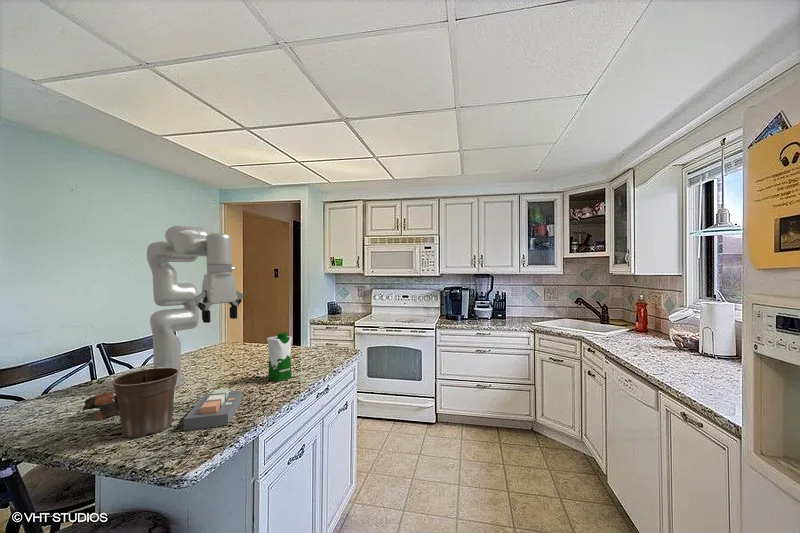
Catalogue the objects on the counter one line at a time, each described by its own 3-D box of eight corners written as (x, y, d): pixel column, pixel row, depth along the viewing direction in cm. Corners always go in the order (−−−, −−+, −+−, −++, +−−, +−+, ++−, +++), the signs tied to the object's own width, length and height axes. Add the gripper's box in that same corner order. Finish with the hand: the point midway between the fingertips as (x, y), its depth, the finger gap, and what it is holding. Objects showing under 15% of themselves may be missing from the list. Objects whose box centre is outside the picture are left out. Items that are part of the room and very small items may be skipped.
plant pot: (159, 440, 95) (158, 382, 95) (97, 444, 93) (96, 385, 94) (190, 415, 111) (189, 366, 111) (137, 418, 110) (136, 368, 110)
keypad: (205, 404, 121) (205, 393, 121) (242, 400, 124) (242, 390, 124) (183, 430, 100) (183, 418, 100) (228, 425, 103) (227, 413, 103)
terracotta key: (204, 411, 108) (204, 402, 108) (220, 410, 109) (220, 400, 109) (200, 417, 104) (200, 407, 104) (216, 415, 105) (216, 406, 105)
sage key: (215, 398, 119) (215, 389, 120) (229, 396, 121) (229, 388, 121) (211, 402, 115) (211, 393, 115) (226, 401, 116) (225, 392, 116)
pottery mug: (82, 426, 106) (76, 401, 108) (91, 428, 114) (86, 405, 116) (129, 407, 113) (123, 383, 115) (135, 410, 120) (129, 388, 122)
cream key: (210, 404, 114) (210, 395, 114) (224, 403, 115) (224, 394, 115) (206, 409, 109) (206, 400, 109) (221, 408, 110) (221, 398, 111)
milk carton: (277, 383, 142) (276, 335, 142) (264, 379, 147) (264, 333, 148) (294, 377, 149) (294, 332, 149) (282, 374, 154) (281, 330, 155)
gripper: (235, 270, 125) (236, 316, 124) (186, 270, 110) (187, 323, 109) (248, 269, 121) (249, 317, 121) (200, 269, 106) (201, 324, 106)
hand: (220, 320), depth 115 cm, fingers open, 9 cm apart
